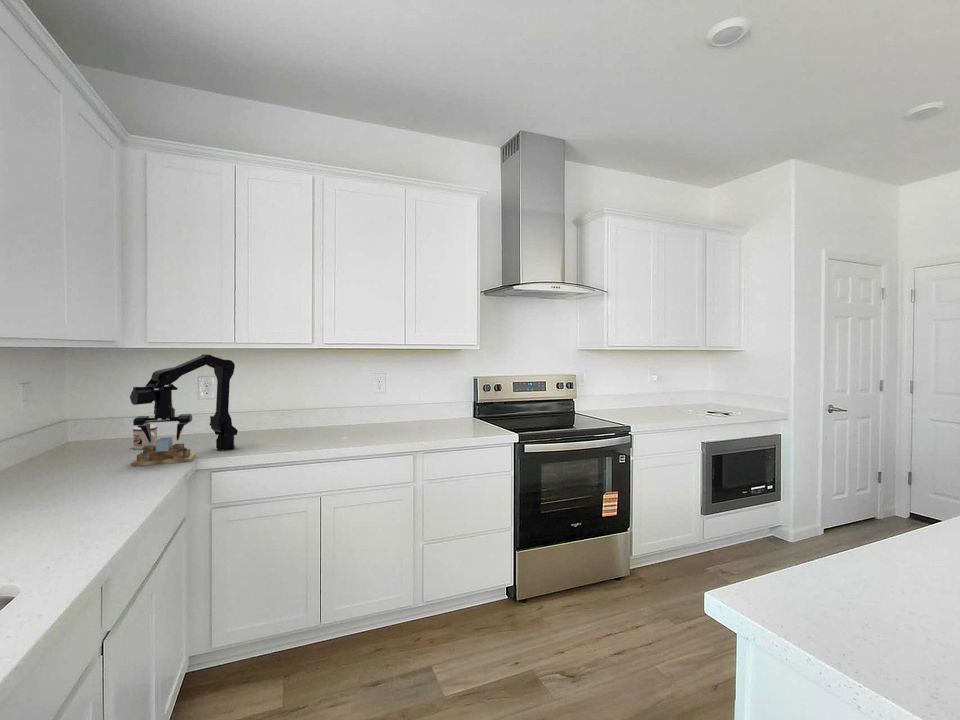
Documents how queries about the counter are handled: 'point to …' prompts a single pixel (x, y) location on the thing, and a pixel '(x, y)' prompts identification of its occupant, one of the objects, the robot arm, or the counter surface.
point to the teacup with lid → (144, 437)
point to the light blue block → (164, 444)
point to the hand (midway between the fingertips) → (164, 441)
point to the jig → (178, 457)
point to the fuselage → (163, 452)
